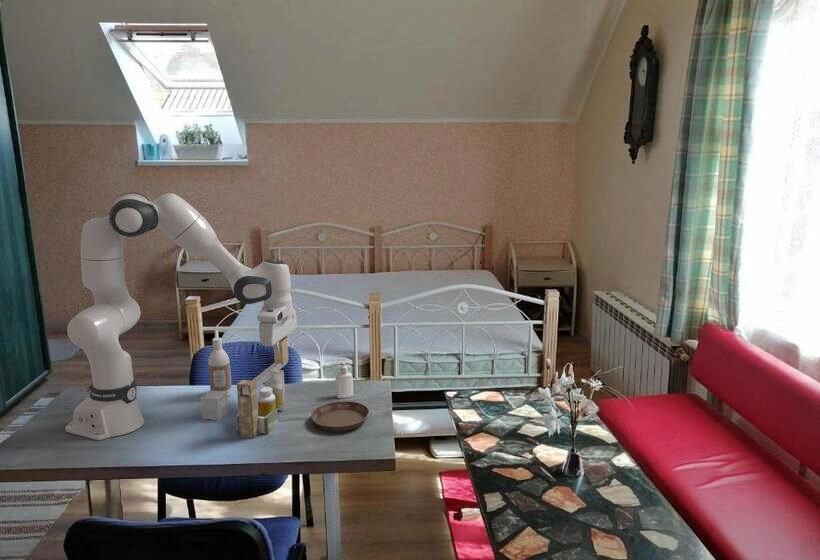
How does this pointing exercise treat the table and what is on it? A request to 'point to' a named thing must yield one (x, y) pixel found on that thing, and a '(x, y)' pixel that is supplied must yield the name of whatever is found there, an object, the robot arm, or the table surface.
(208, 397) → the product box
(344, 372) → the eye dropper bottle
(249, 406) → the frame
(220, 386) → the bath foam
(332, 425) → the plant saucer
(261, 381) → the rod with square block
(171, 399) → the table surface
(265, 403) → the supplement bottle
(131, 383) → the robot arm
